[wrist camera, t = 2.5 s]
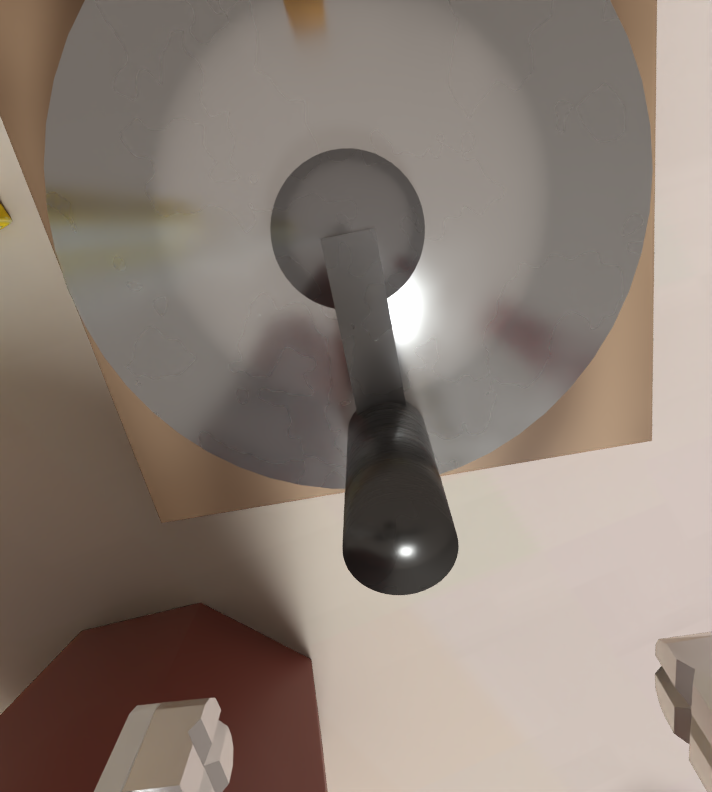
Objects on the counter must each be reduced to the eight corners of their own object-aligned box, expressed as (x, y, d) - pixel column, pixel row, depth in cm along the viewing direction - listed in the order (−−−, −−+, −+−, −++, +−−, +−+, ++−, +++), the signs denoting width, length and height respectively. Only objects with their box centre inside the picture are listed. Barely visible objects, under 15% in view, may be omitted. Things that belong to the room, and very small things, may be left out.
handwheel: (-39, -43, 16) (-429, -271, 8) (631, -217, 14) (962, -708, 7) (171, 507, 23) (74, 672, 15) (633, 428, 22) (792, 566, 14)
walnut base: (181, 488, 27) (161, 523, 24) (-9, -30, 19) (-72, -67, 16) (619, 412, 25) (651, 440, 22) (611, -188, 17) (659, -261, 14)
